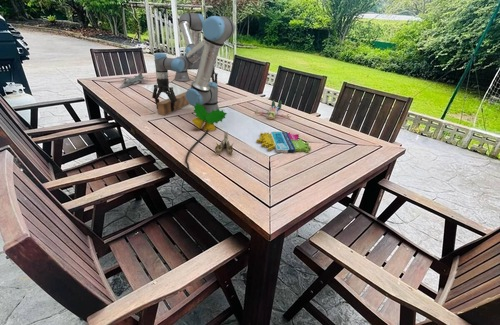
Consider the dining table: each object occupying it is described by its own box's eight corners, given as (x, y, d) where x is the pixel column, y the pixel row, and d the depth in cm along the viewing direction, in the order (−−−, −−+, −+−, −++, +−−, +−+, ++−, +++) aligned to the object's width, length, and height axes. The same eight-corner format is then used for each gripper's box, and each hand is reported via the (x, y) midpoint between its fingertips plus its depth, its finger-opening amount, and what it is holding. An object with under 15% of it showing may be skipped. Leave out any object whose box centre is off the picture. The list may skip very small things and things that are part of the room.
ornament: (218, 133, 171) (224, 110, 169) (221, 134, 163) (227, 111, 161) (186, 125, 162) (192, 101, 160) (189, 126, 155) (195, 101, 153)
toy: (294, 102, 205) (291, 112, 179) (293, 111, 208) (289, 122, 182) (260, 97, 210) (251, 107, 184) (259, 106, 213) (250, 117, 187)
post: (164, 115, 180) (163, 104, 176) (158, 114, 182) (157, 103, 178) (215, 91, 244) (215, 83, 240) (210, 90, 246) (210, 82, 242)
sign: (313, 150, 142) (258, 149, 139) (312, 153, 143) (258, 152, 140) (301, 132, 164) (254, 130, 161) (301, 134, 165) (254, 133, 162)
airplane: (115, 80, 258) (112, 69, 253) (148, 78, 271) (147, 68, 266) (118, 90, 229) (115, 78, 224) (155, 87, 243) (153, 76, 238)
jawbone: (234, 135, 144) (233, 125, 135) (233, 160, 138) (232, 151, 129) (217, 135, 144) (216, 125, 135) (216, 160, 138) (214, 150, 129)
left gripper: (221, 66, 230) (221, 92, 241) (203, 63, 235) (203, 89, 246) (217, 67, 223) (217, 94, 235) (198, 64, 229) (199, 91, 240)
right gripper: (181, 79, 174) (183, 111, 184) (151, 74, 180) (155, 105, 191) (174, 81, 167) (176, 114, 178) (144, 76, 174) (148, 108, 184)
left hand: (210, 91), depth 240 cm, fingers closed on post, 5 cm apart
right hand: (165, 109), depth 184 cm, fingers open, 11 cm apart
